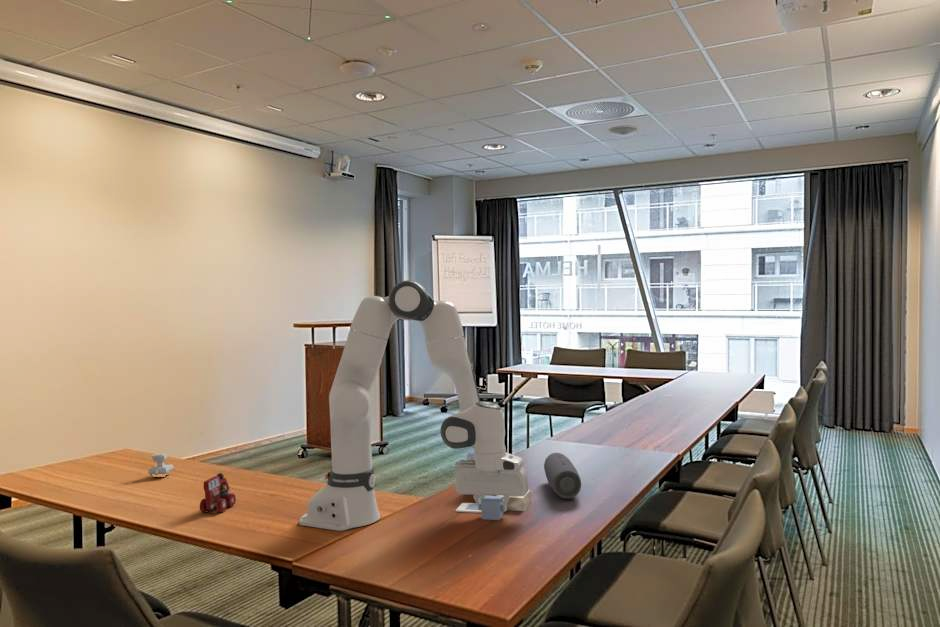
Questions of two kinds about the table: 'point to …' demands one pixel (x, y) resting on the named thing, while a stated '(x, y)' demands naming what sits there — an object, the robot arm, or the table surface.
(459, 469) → the robot arm
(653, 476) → the table surface
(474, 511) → the swatch card
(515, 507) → the birch base
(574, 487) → the bluetooth speaker
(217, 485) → the toy fire truck
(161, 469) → the stamp
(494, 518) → the blue cube
